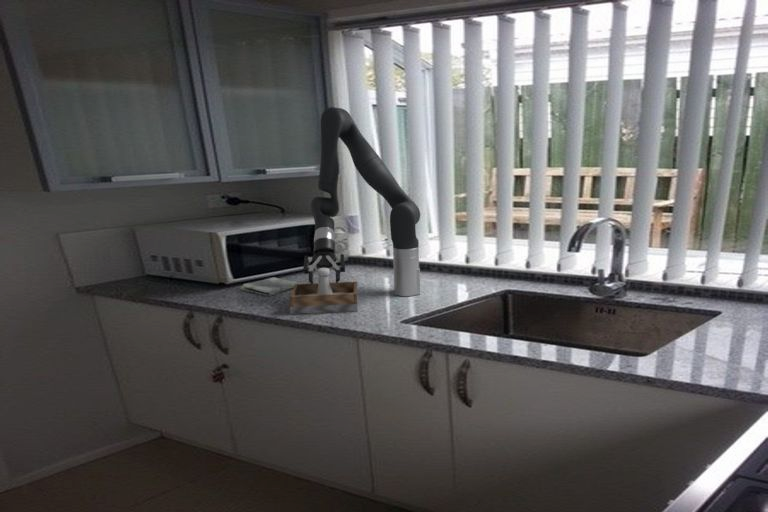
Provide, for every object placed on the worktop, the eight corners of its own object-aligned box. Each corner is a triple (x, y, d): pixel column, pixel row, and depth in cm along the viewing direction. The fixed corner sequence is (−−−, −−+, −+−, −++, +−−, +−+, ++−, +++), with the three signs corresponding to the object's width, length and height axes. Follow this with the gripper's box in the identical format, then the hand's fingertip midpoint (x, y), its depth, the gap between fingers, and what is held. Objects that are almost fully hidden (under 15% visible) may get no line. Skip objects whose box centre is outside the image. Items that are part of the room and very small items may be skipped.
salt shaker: (331, 307, 177) (329, 270, 174) (314, 307, 178) (312, 270, 175) (335, 302, 182) (334, 266, 180) (320, 302, 184) (318, 266, 181)
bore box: (357, 297, 188) (357, 281, 187) (357, 311, 172) (356, 293, 171) (296, 300, 187) (295, 284, 186) (290, 314, 171) (289, 296, 170)
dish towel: (304, 287, 207) (304, 279, 206) (269, 298, 193) (269, 289, 192) (273, 281, 218) (272, 273, 217) (237, 291, 204) (237, 283, 203)
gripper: (303, 237, 183) (301, 277, 174) (344, 236, 183) (344, 275, 174) (305, 249, 189) (304, 288, 180) (345, 247, 190) (345, 286, 181)
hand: (324, 282), depth 177 cm, fingers open, 8 cm apart
